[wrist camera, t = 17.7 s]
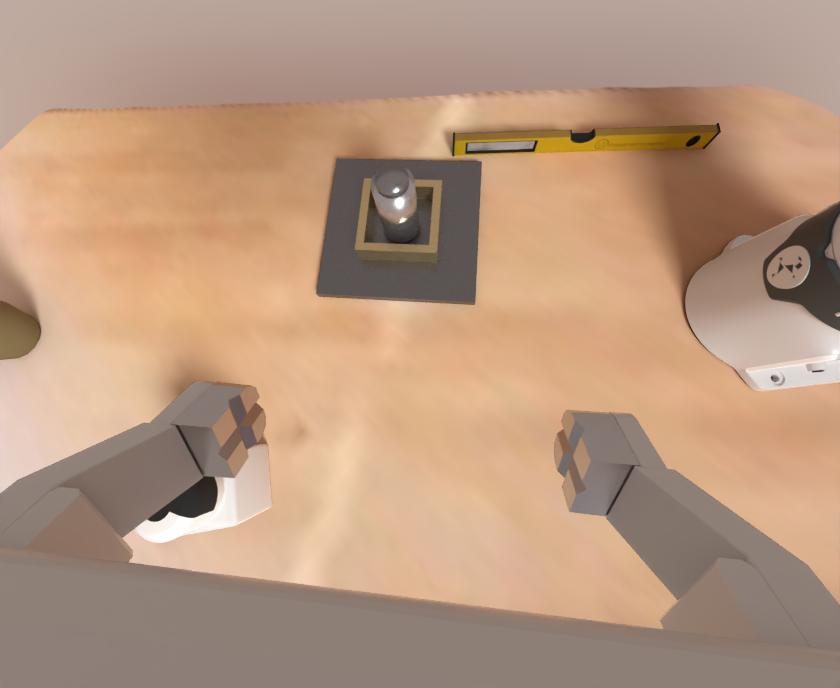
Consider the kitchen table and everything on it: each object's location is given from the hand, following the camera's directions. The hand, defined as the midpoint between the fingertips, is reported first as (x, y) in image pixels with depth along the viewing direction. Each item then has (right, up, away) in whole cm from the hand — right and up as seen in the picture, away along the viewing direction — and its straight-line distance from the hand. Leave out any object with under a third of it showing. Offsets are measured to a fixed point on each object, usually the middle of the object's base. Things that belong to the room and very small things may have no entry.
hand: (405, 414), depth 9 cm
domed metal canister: (-2, +17, +35) cm, 39 cm away
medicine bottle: (-20, -14, +31) cm, 39 cm away
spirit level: (+22, +29, +38) cm, 52 cm away
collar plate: (-2, +17, +36) cm, 40 cm away
